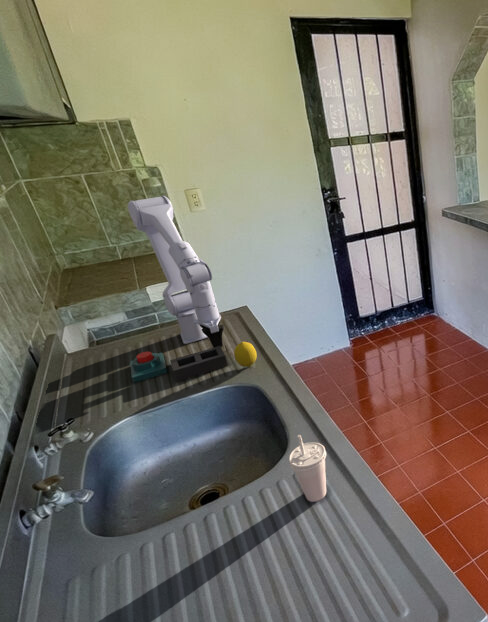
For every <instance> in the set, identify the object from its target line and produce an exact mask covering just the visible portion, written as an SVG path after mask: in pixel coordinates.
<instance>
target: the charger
mask: <svg viewBox="0 0 488 622" xmlns="http://www.w3.org/2000/svg"><path fill="white" fill-rule="evenodd" d="M207 340H208V343H209V347H210V349H211V348H214V347H213V345H212V344H211V342H210V340H209V338H207ZM221 348H222V350H223V352H226V345H225V342H224V340H223V338H222V347H221Z"/></svg>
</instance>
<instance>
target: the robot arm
mask: <svg viewBox="0 0 488 622" xmlns="http://www.w3.org/2000/svg"><path fill="white" fill-rule="evenodd" d="M127 210H128V213H129V216H130V217H131V220H132V222H133V224H134V227H136V230H137V231H138V232H143V233H145V235H146V237H147V238H148V240H149V243H150V245H151V247H152V250H153V252H154V254H155V256H156V259H157V260H158V263H159V265H160V267H161V270H162V272H163V274H164V277H165V279H166V281H167V284H168V285H166V287H165V288H164V289H163V291H162V298H163V302H164V305H165V308H166V310H167V311H168V313H169V314H170V315H172V316H173V317H174V316H175V317H176V320H177V324H178V326H179V330H180V333H179V334H180V337H181V340H182V343H183V345H188V344H191V343H196V342H199V341H201V340H206V339H208V338H209V340H210V342H211V344H212V345H213V347H217V346H221V347H222V339H223V332H224V328H225V327H224V324H220V323H221V319H222V316H221V314H220V311H219V309H218V304H217V302H216V298H215V295H214V291H213V287H212V284H211V281H212V280H213V275H212V271H211V269H210V267H209V265H208V263H207V262H206V261H204V260H203V258H199V256H198V254H197V253H196V252H195V251H194V248H193V247H192V246H191V244H190V243H189V242H188V241H184V240H183V238H182V236H181V235H180V233H179V231H178V229H177V227H176V225H175V223H174V208H173V204H172V202H171V200H170V199H169V197H167V196H166V195H161V196H155V197H150V198H143V199H136V200H129V201H128V203H127ZM209 340H208V341H209Z"/></svg>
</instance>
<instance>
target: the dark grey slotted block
mask: <svg viewBox="0 0 488 622" xmlns="http://www.w3.org/2000/svg"><path fill="white" fill-rule="evenodd" d="M224 352H225V351H224ZM224 352H223V350H222V348H221V346H217V347H214V348H211V347H210V348H207V349H204V350H201V351H197V352H194V353H190V354H186V355H183V356H179V357H177V358H173V359H170V366H171V368H172V371H173V375H174V378H175V381H176V382H181V381H184V380H188V379H190V378H194V377H197V376H200V375H203V374H206V373H210V372H213V371H217V370H219V369H222V368H225V367H228V366H229V363H228V360H227V357H226V354H225V353H224Z"/></svg>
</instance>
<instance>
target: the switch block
mask: <svg viewBox="0 0 488 622" xmlns="http://www.w3.org/2000/svg"><path fill="white" fill-rule="evenodd" d="M151 353H152V356H153V359H152V360H150V361H148V362H144V363H139V362H138V360H137V357H135V358H134V359H133V360H130V361H129V365H130V373H131V380H132V383H133V384H134V383H138V382H142V381H145V380H148V379H152V378H155V377H158V376H161V375H164V374H168V369H167V365H166V361H165V357H164V354H163V352H159V353H156V352H151Z"/></svg>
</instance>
